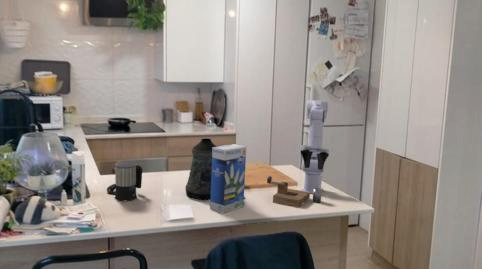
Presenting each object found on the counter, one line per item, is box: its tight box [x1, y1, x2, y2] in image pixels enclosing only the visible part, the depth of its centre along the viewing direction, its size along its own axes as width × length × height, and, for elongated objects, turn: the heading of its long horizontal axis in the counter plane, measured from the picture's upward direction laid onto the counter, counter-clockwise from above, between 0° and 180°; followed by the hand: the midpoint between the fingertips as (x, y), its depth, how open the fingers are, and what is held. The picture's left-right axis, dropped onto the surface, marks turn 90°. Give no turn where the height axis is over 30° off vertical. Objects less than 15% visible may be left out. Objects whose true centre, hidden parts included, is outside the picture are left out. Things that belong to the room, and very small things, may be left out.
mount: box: [272, 180, 311, 208], centre depth 213 cm, size 14×12×7 cm
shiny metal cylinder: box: [312, 188, 323, 204], centre depth 213 cm, size 4×4×6 cm
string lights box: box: [209, 143, 247, 214], centre depth 197 cm, size 13×8×26 cm, turn 139°
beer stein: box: [185, 138, 217, 201], centre depth 215 cm, size 16×19×25 cm
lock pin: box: [266, 175, 284, 186], centre depth 215 cm, size 2×8×3 cm, turn 64°
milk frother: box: [106, 161, 143, 202], centre depth 208 cm, size 14×16×15 cm
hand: (313, 168), depth 205 cm, fingers open, 7 cm apart
